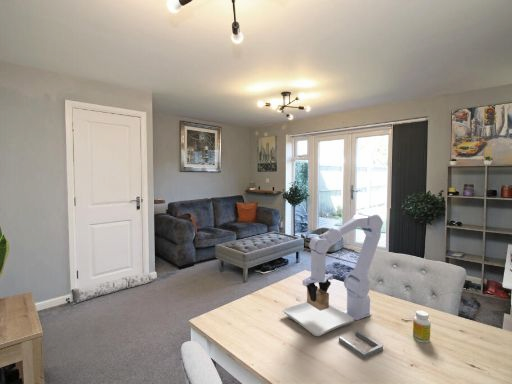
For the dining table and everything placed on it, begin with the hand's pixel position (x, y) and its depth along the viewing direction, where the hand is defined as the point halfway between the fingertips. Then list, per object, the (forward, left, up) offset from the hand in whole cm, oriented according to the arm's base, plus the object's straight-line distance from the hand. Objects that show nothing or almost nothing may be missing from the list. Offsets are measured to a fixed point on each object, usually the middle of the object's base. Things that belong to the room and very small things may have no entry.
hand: (317, 299), depth 113 cm
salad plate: (0, 0, -10) cm, 10 cm away
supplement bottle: (-25, +28, -9) cm, 39 cm away
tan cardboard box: (0, 0, -2) cm, 2 cm away
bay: (-2, +19, -9) cm, 21 cm away
